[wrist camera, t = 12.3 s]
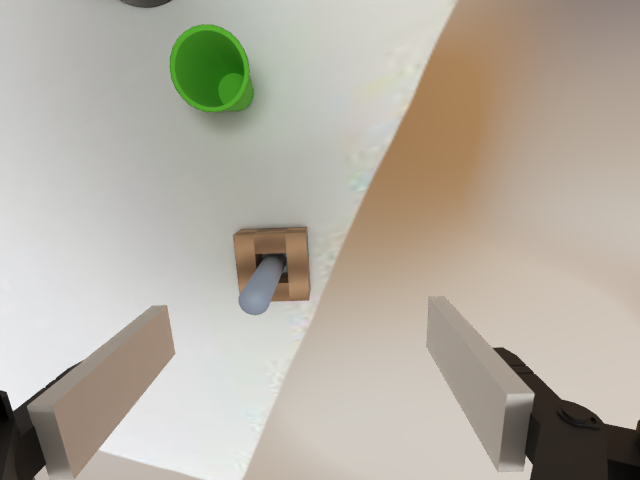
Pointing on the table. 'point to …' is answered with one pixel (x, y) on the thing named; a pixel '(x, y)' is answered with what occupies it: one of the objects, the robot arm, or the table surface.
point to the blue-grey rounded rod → (262, 284)
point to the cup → (211, 70)
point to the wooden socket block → (275, 241)
